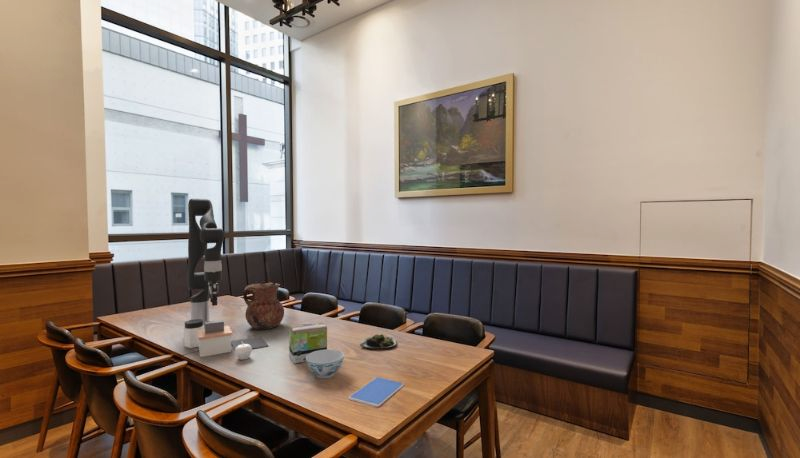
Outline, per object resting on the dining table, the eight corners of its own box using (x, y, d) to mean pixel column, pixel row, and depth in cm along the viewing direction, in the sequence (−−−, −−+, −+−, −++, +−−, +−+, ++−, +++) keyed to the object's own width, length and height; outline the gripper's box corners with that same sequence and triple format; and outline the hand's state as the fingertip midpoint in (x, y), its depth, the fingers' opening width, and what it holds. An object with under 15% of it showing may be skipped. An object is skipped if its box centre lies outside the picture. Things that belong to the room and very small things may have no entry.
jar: (184, 349, 180) (184, 324, 180) (183, 344, 187) (183, 320, 186) (205, 345, 185) (204, 321, 185) (203, 341, 192) (203, 318, 191)
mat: (230, 342, 190) (230, 341, 190) (261, 337, 197) (261, 336, 197) (235, 352, 175) (235, 351, 175) (268, 346, 183) (268, 345, 183)
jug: (270, 319, 232) (270, 279, 232) (292, 324, 220) (291, 283, 219) (237, 328, 214) (236, 285, 214) (258, 334, 202) (258, 289, 201)
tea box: (293, 364, 159) (293, 330, 159) (289, 357, 168) (288, 324, 168) (327, 358, 166) (327, 325, 166) (321, 351, 175) (321, 320, 175)
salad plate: (361, 338, 195) (361, 329, 195) (395, 337, 196) (395, 329, 196) (359, 351, 176) (358, 341, 176) (396, 350, 176) (396, 341, 176)
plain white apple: (235, 357, 169) (234, 339, 169) (251, 354, 172) (251, 337, 172) (234, 362, 163) (234, 344, 162) (252, 359, 165) (251, 342, 165)
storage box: (198, 348, 180) (198, 332, 180) (227, 343, 187) (227, 328, 187) (200, 357, 169) (200, 339, 169) (231, 351, 176) (231, 334, 176)
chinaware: (309, 386, 139) (309, 365, 139) (303, 371, 153) (303, 352, 152) (348, 378, 145) (348, 359, 145) (339, 365, 159) (338, 347, 158)
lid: (197, 334, 180) (196, 320, 180) (228, 330, 188) (228, 316, 187) (198, 342, 168) (198, 327, 168) (232, 337, 176) (232, 323, 175)
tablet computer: (376, 379, 145) (376, 376, 145) (405, 385, 140) (405, 382, 140) (347, 400, 128) (347, 397, 128) (378, 409, 122) (378, 405, 122)
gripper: (203, 269, 181) (203, 302, 182) (205, 272, 169) (206, 307, 170) (220, 267, 185) (220, 300, 186) (223, 271, 173) (224, 305, 173)
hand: (213, 303), depth 178 cm, fingers open, 8 cm apart
